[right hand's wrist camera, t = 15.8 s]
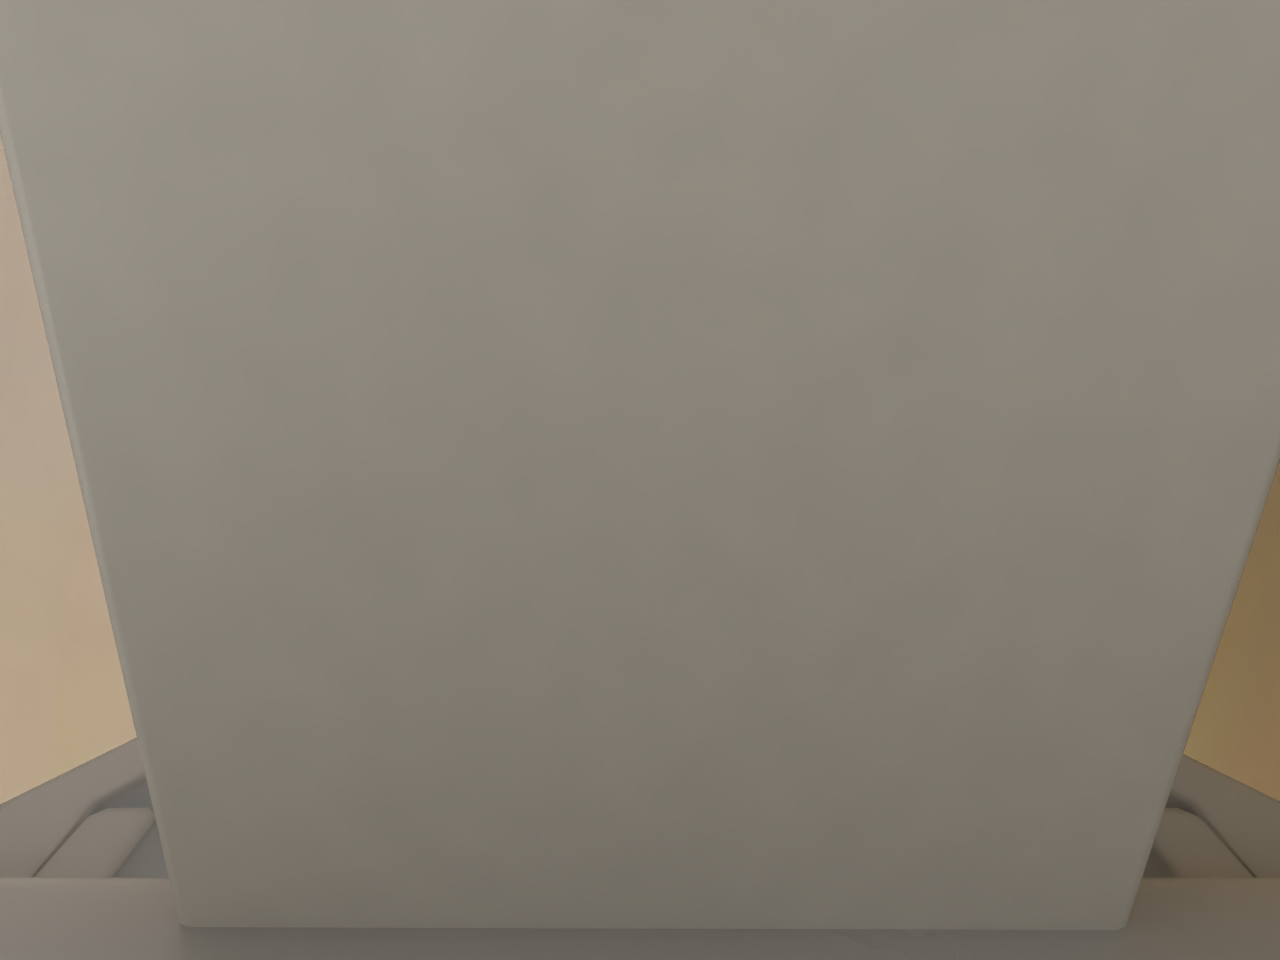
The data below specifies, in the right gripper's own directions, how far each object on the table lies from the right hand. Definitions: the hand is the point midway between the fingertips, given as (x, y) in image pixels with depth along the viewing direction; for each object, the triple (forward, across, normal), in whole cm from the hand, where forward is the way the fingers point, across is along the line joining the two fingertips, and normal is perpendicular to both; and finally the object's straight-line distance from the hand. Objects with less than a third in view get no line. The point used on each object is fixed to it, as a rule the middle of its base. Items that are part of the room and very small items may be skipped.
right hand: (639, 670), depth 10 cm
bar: (+4, 0, -8) cm, 9 cm away
